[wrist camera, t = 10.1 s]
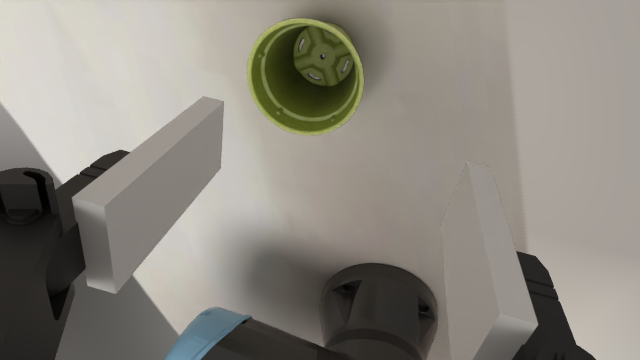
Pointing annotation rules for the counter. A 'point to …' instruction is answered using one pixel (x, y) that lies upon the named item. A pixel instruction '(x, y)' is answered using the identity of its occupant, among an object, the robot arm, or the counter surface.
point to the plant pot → (305, 76)
